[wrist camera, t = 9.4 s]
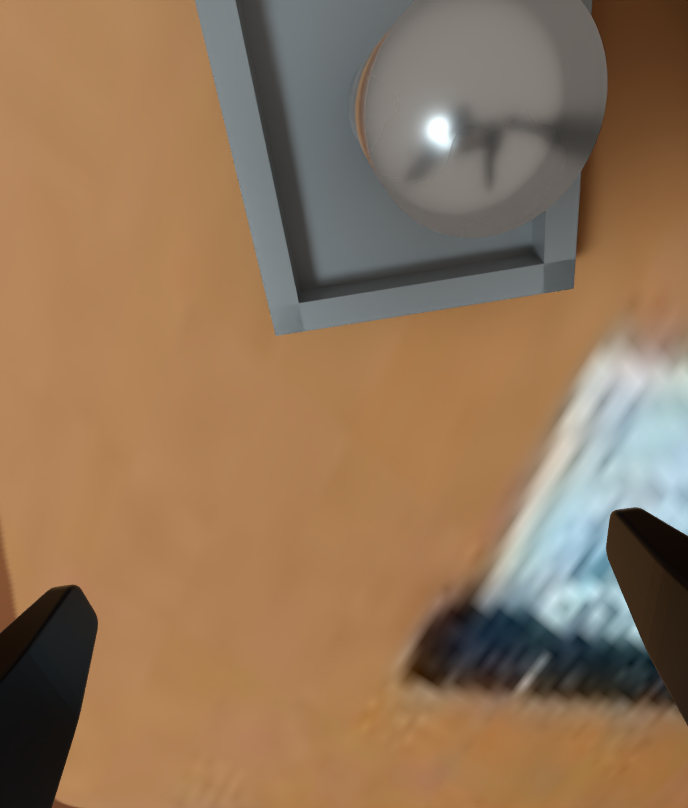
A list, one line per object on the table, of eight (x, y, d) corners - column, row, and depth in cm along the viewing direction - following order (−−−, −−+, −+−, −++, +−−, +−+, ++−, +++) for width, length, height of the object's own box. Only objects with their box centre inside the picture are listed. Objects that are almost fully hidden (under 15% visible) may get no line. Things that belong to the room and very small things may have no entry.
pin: (451, 29, 15) (617, -65, 6) (458, 154, 16) (598, 217, 8) (339, 52, 15) (347, -10, 6) (356, 173, 17) (381, 254, 8)
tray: (571, -202, 13) (608, -245, 12) (551, 270, 19) (573, 288, 18) (179, -121, 14) (158, -150, 12) (280, 314, 20) (275, 335, 18)
